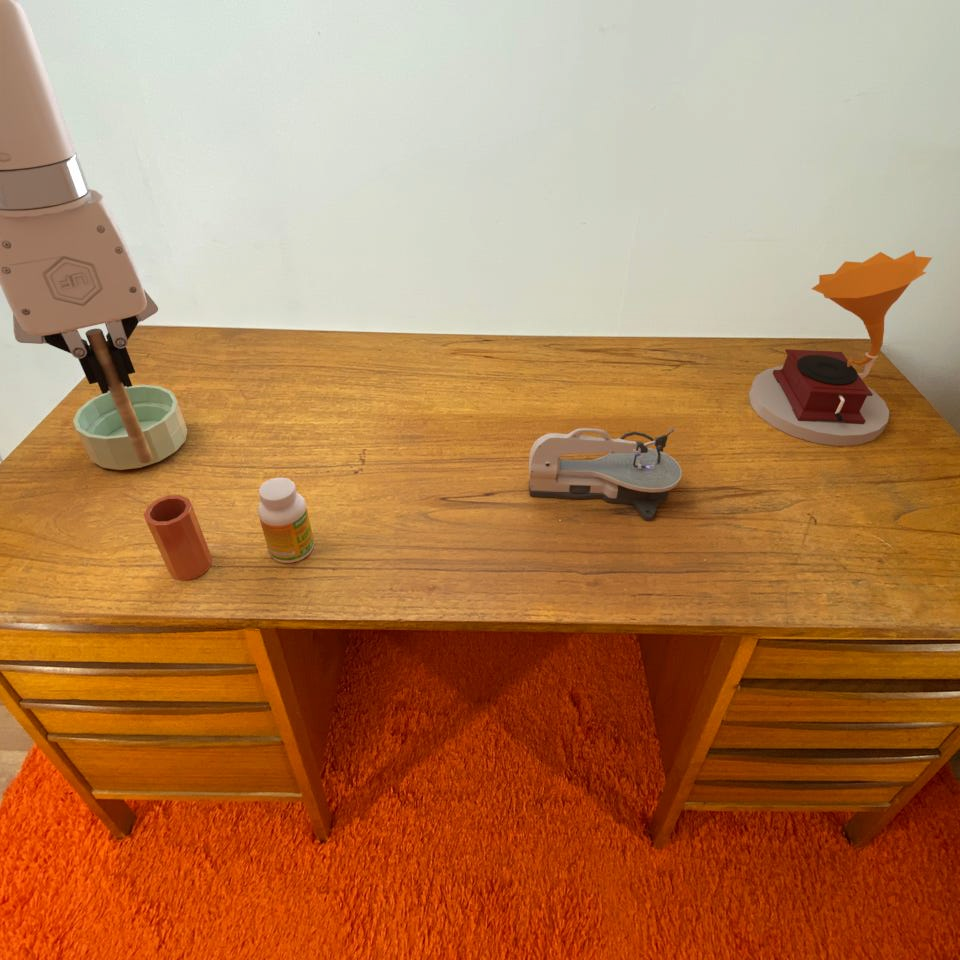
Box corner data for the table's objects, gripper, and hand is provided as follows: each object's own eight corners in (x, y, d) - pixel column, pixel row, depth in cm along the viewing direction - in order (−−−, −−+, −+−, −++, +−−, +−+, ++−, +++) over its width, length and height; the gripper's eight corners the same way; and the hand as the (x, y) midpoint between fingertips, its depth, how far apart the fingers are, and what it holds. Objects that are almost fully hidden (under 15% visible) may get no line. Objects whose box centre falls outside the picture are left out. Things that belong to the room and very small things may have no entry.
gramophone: (855, 378, 111) (922, 232, 94) (907, 449, 95) (998, 290, 79) (735, 372, 112) (781, 226, 95) (767, 442, 96) (828, 282, 80)
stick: (140, 465, 68) (86, 336, 58) (137, 458, 68) (83, 330, 59) (154, 460, 68) (103, 332, 58) (151, 454, 69) (100, 326, 59)
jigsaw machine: (535, 453, 76) (531, 400, 85) (529, 517, 83) (526, 462, 91) (703, 458, 76) (682, 404, 84) (683, 521, 83) (665, 466, 91)
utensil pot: (175, 586, 73) (150, 531, 67) (164, 560, 76) (139, 505, 70) (217, 569, 75) (196, 513, 69) (205, 544, 78) (184, 489, 72)
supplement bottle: (307, 565, 76) (293, 505, 70) (263, 563, 76) (245, 503, 70) (319, 533, 80) (307, 474, 74) (277, 531, 80) (261, 471, 74)
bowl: (100, 485, 86) (82, 449, 82) (82, 436, 95) (66, 402, 91) (199, 452, 92) (187, 417, 88) (174, 409, 100) (163, 375, 96)
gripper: (-88, 213, 45) (28, 428, 56) (147, 180, 51) (207, 378, 63) (-88, 186, 49) (19, 389, 61) (128, 159, 56) (187, 347, 68)
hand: (114, 382), depth 62 cm, fingers closed on stick, 1 cm apart
